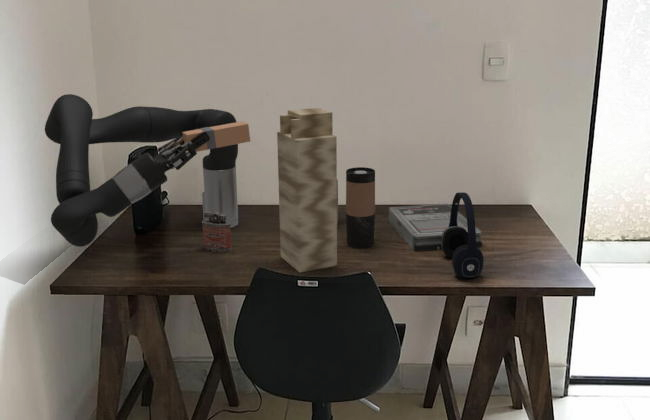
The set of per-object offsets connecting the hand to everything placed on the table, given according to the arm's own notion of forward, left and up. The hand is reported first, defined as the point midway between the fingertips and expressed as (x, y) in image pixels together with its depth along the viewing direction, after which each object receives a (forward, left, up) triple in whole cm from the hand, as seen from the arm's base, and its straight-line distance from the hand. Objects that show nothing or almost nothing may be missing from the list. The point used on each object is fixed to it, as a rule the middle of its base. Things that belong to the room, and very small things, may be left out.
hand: (204, 133), depth 155 cm
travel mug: (+16, +39, -35) cm, 55 cm away
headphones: (+45, +39, -35) cm, 69 cm away
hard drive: (+28, +58, -35) cm, 73 cm away
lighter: (-13, +15, -35) cm, 40 cm away
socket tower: (+12, +21, -34) cm, 42 cm away
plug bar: (+1, +3, -3) cm, 4 cm away
